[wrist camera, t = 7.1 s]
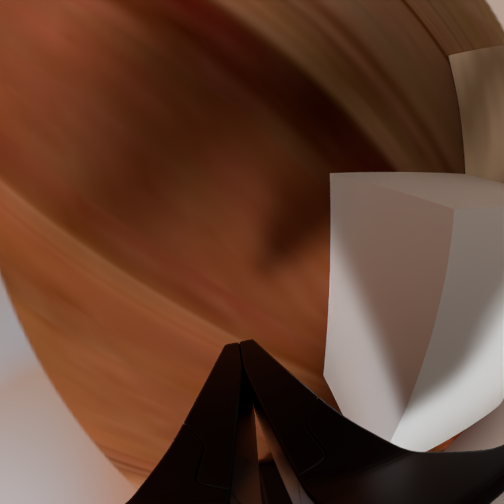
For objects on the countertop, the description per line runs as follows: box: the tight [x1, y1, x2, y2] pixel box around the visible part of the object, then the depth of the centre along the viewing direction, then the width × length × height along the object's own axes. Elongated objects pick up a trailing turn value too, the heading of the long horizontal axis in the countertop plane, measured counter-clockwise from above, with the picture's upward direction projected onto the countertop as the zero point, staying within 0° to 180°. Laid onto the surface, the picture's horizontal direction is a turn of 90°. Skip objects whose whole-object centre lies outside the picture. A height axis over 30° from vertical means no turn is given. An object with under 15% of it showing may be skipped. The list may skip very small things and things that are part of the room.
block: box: [323, 172, 504, 452], centre depth 9 cm, size 9×7×6 cm
